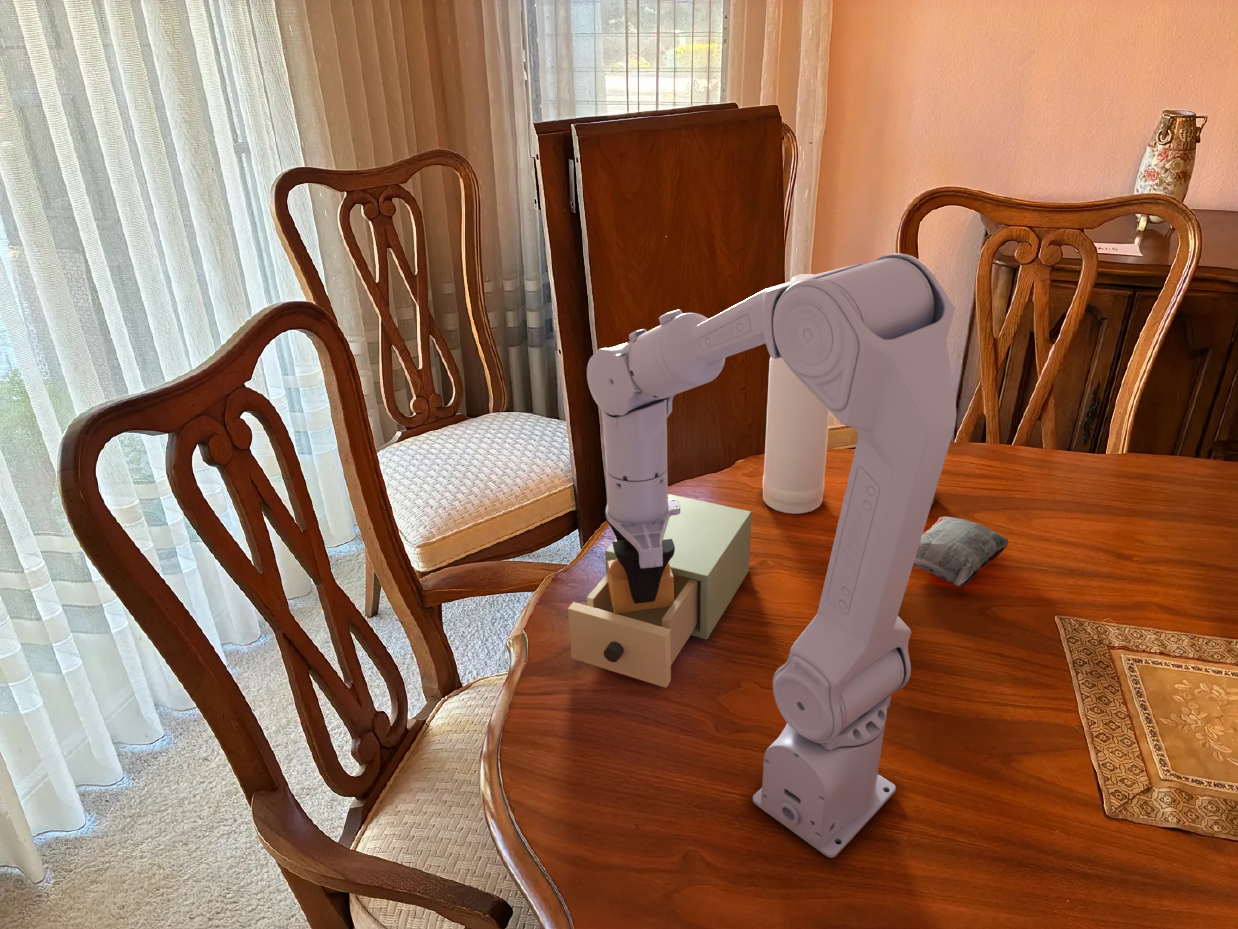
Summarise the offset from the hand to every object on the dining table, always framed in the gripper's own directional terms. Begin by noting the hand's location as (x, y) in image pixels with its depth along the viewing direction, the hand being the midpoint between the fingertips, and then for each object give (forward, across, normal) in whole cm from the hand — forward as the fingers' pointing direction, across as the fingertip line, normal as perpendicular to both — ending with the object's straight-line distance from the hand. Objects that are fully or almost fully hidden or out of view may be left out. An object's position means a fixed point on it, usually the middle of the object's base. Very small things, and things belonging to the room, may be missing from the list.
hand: (640, 586), depth 85 cm
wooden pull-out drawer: (+7, 0, 0) cm, 7 cm away
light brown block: (+1, 0, 0) cm, 1 cm away
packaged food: (+8, +8, -37) cm, 39 cm away
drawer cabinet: (+8, +9, -6) cm, 13 cm away
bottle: (+8, +25, -25) cm, 36 cm away
